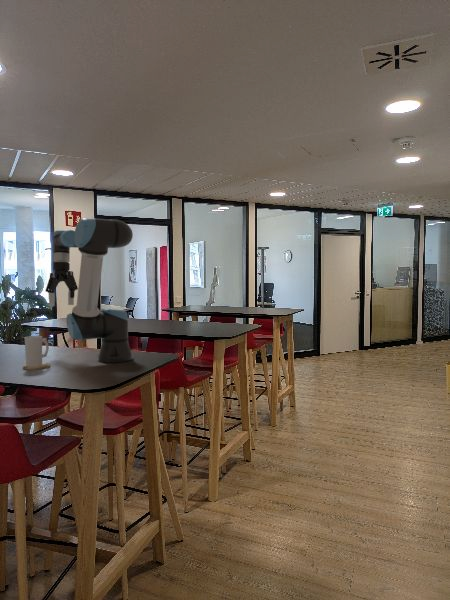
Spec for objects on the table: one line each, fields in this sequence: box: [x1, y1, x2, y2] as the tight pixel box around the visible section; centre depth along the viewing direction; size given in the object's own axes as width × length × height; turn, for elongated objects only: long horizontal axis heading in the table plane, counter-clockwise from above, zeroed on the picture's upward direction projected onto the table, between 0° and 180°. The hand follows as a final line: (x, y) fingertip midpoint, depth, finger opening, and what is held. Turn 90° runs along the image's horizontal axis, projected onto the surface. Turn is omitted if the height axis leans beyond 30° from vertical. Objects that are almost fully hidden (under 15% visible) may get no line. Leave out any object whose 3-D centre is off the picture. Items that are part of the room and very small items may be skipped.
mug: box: [24, 335, 50, 367], centre depth 195 cm, size 10×7×12 cm, turn 139°
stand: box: [22, 362, 51, 371], centre depth 196 cm, size 11×11×1 cm
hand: (61, 305), depth 225 cm, fingers open, 13 cm apart
